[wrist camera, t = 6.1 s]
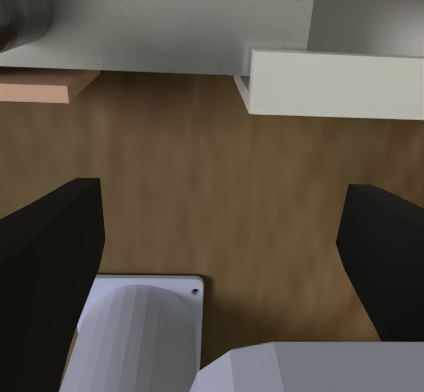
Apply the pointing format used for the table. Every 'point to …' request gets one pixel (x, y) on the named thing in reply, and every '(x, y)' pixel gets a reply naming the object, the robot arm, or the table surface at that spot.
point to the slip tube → (150, 34)
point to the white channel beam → (345, 64)
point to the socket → (43, 83)
